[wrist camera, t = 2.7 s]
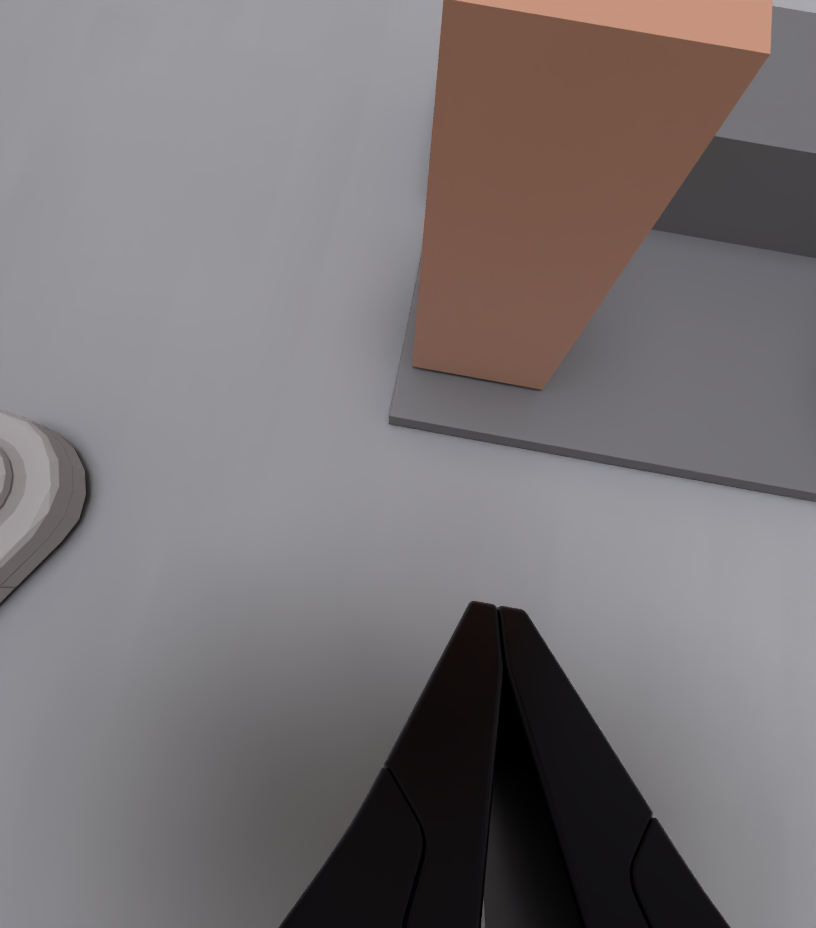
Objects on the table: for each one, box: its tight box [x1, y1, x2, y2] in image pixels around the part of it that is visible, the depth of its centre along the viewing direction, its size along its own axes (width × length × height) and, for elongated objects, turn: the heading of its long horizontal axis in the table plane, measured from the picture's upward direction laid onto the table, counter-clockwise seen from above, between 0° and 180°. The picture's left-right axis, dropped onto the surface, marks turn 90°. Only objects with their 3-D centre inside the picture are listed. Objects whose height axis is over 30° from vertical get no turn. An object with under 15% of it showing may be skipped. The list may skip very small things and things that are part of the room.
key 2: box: [412, 0, 772, 390], centre depth 16 cm, size 4×5×14 cm
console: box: [389, 6, 816, 502], centre depth 22 cm, size 16×22×7 cm
